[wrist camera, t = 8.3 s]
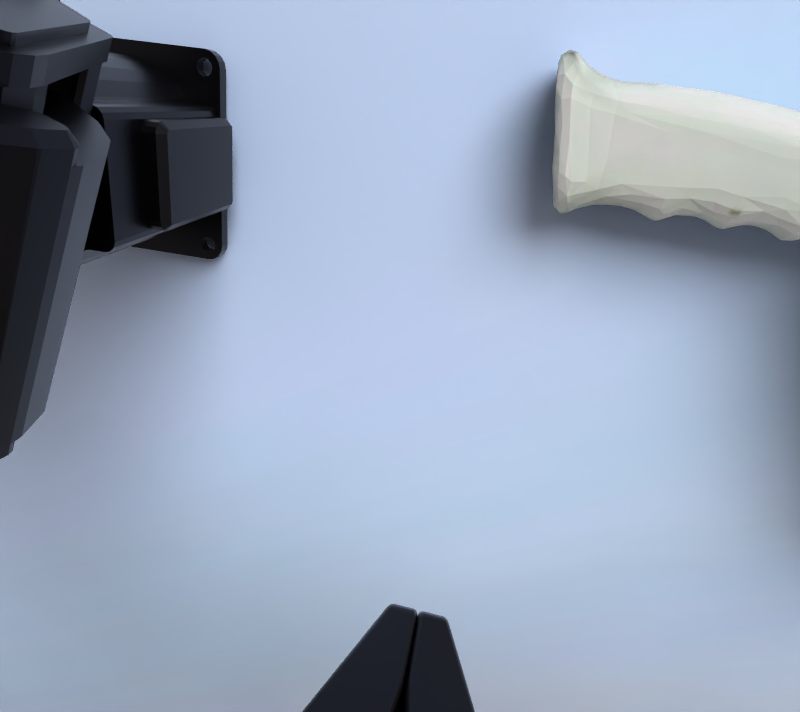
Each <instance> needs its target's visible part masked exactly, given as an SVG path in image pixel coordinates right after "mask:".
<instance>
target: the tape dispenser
mask: <svg viewBox="0 0 800 712" xmlns="http://www.w3.org/2000/svg"><path fill="white" fill-rule="evenodd" d="M554 113H555V137H554V152H553V165H552V176H553V206H554V207H555V209H556V210H557V211H558V212H559V213H568V212H570V211H572V210H575V209H577V208H582V207H586V206H591V205H614V206H622V207H626V208H630V209H633V210H635V211H637V212H638V213H640V214H642V215H644V216H646V217H647V218H649V219H651V220H653V221H658V220H662V219H665V218H668V217H671V216H674V215H682V216H695V217H697V218H700V219H703V220H705V221H706V222H708V223H710V224H711V225H713V226H714V227H716V228H720V229H725V228H730V227H735V226H740V225H753V226H756V227H759V228H762V229H765V230H767V231H768V232H770V233H771V234H772V235H774V236H775V237H777V238H778V239H780V240H788V241H793V240H800V112H798V111H795V110H792V109H788V108H785V107H782V106H777V105H773V104H769V103H764V102H760V101H755V100H751V99H747V98H742V97H738V96H734V95H729V94H725V93H720V92H716V91H708V90H701V89H694V88H686V87H679V86H672V85H664V84H655V83H638V82H621V81H618V80H615V79H612V78H609V77H606V76H603V75H602V74H600V73H599V72H597V71H596V70H595V69H593V68H592V67H590V66H589V65H588V64H587V62H586V61H585V60H584V59H583V58H582V56H581V55H580V54H579V53H578V52H576V51H573V50H569V51H567V52H566V53H564V54H563V55H561V58H560V60H559V62H558V72H557V82H556V95H555V110H554Z"/></svg>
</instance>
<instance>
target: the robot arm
mask: <svg viewBox="0 0 800 712" xmlns="http://www.w3.org/2000/svg"><path fill="white" fill-rule="evenodd" d="M206 59H208V60H209V61H210V62H211V64H212V72H211V74H210V75H209V76H207V75H206V74H205V73H204V71H203V62H204V61H205V60H206ZM231 204H232V126H231V125H230V123H229V122H228V121H227V119H226V69H225V63H224V61H223V59H222V57H221V56H220V55H219V54H218V53H217V52H215V51H212V50H208V49H202V48H194V47H185V46H177V45H169V44H160V43H152V42H144V41H135V40H127V39H119V38H113V37H112V36H111V35H110V34H108V33H107V32H105V31H103V30H101V29H99V28H97V27H96V26H94V25H92V24H90V20H89V19H87V18H86V17H84V16H82V15H81V14H79V13H78V12H76V11H74V10H73V9H71V8H70V7H68V6H66V5H65V4H63V3H62V2H60V0H0V459H1V458H3V457H5V456H7V455H9V454H10V453H11V452H12V451H13V446H14V442H15V441H16V440H17V439H18V438H20V437H21V436H22V435H23V434H24V433H25V432H26V431H27V430H28V429H29V428H30V426H31V425H32V424H33V423H34V422H35V421H36V420H37V419H38V418H39V417H40V415H41V414H42V413H43V412H44V410H45V406H46V402H47V398H48V394H49V390H50V386H51V382H52V378H53V374H54V370H55V366H56V362H57V358H58V354H59V349H60V345H61V341H62V337H63V333H64V329H65V325H66V321H67V317H68V313H69V309H70V305H71V300H72V296H73V292H74V288H75V284H76V280H77V276H78V272H79V268H80V265H81V264H84V263H86V262H89V261H92V260H94V259H97V258H100V257H102V256H105V255H108V254H111V253H113V252H116V251H119V250H121V249H124V248H127V247H129V246H132V247H138V248H144V249H151V250H157V251H163V252H169V253H175V254H182V255H188V256H194V257H200V258H207V259H214V258H216V257H218V256H220V255H222V254H223V253H224V252H225V251H226V248H227V208H228V207H229V206H230V205H231ZM208 237H209V238H211V239H212V240H213V241H214V242H215V249H212V248H210V247H209V246H208V244H207V238H208ZM302 712H475V711H474V707H473V704H472V701H471V697H470V694H469V691H468V687H467V684H466V680H465V677H464V674H463V670H462V667H461V664H460V660H459V657H458V653H457V650H456V647H455V643H454V640H453V637H452V633H451V630H450V626H449V623H448V621H447V619H446V618H445V617H443V616H439V615H435V614H431V613H428V612H420V613H419V614H418V616H417V612H416V610H415V609H412V608H408V607H404V606H400V605H397V604H391V605H389V606H388V607H387V608H386V609H385V610H384V612H383V613H382V614H381V615H380V617H379V618H378V619H377V620H376V621H375V623H374V624H373V625H372V626H371V628H370V629H369V630H368V631H367V633H366V634H365V635H364V636H363V637H362V639H361V640H360V641H359V642H358V644H357V645H356V646H355V647H354V649H353V650H352V651H351V652H350V653H349V655H348V656H347V657H346V658H345V660H344V661H343V662H342V663H341V665H340V666H339V667H338V668H337V669H336V671H335V672H334V673H333V674H332V676H331V677H330V678H329V679H328V681H327V682H326V683H325V684H324V686H323V687H322V688H321V689H320V690H319V692H318V693H317V694H316V695H315V697H314V698H313V699H312V700H311V702H310V703H309V704H308V705H307V706H306V708H305V709H304V710H303V711H302Z"/></svg>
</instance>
